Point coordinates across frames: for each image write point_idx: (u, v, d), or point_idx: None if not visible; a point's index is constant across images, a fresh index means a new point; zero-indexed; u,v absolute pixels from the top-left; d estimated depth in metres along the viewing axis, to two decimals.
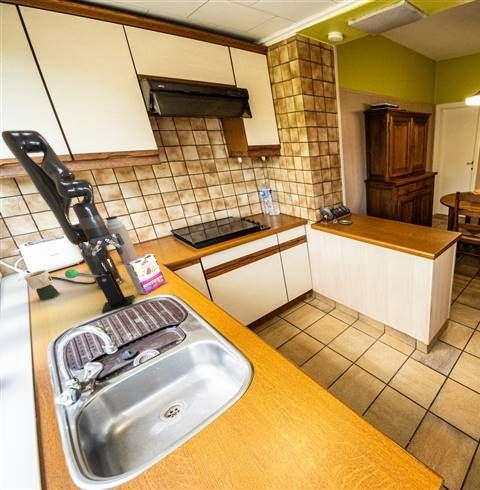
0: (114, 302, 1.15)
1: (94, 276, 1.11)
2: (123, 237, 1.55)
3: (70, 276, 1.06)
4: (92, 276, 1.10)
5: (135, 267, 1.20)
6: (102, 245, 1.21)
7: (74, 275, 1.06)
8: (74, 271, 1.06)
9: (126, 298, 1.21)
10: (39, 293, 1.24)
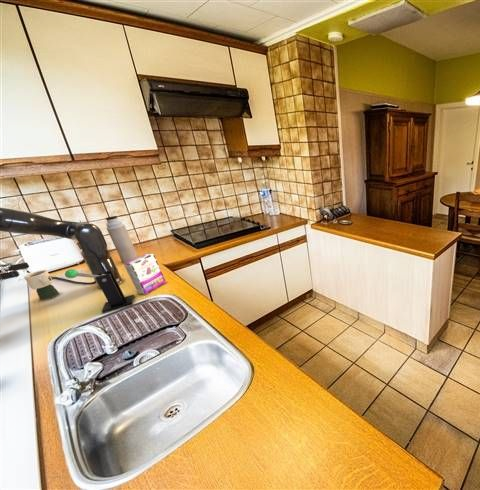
0: (114, 302, 1.15)
1: (94, 276, 1.11)
2: (123, 237, 1.55)
3: (70, 276, 1.06)
4: (92, 276, 1.10)
5: (135, 267, 1.20)
6: None
7: (74, 275, 1.06)
8: (74, 271, 1.06)
9: (126, 298, 1.21)
10: (39, 293, 1.24)
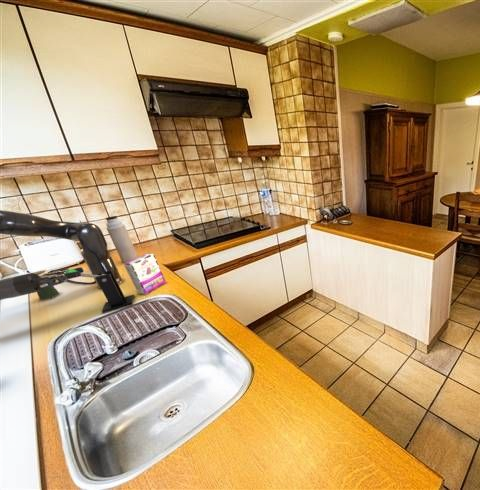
0: (114, 302, 1.15)
1: (94, 276, 1.11)
2: (123, 237, 1.55)
3: None
4: (92, 276, 1.10)
5: (135, 267, 1.20)
6: None
7: None
8: (74, 271, 1.06)
9: (126, 298, 1.21)
10: (39, 293, 1.24)
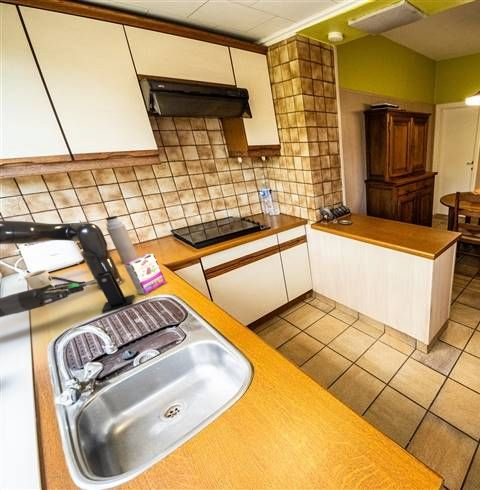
0: (114, 302, 1.15)
1: (95, 280, 1.11)
2: (123, 237, 1.55)
3: None
4: (93, 281, 1.11)
5: (135, 267, 1.20)
6: None
7: None
8: (74, 284, 1.08)
9: (126, 298, 1.21)
10: None
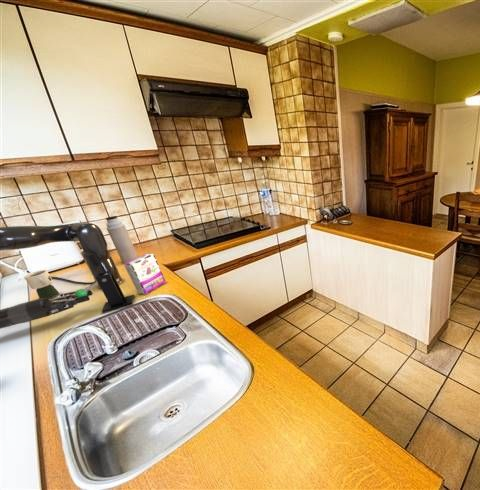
0: (114, 302, 1.15)
1: (97, 282, 1.12)
2: (123, 237, 1.55)
3: (81, 295, 1.09)
4: (95, 284, 1.11)
5: (135, 267, 1.20)
6: None
7: (82, 293, 1.09)
8: (79, 290, 1.09)
9: (126, 298, 1.21)
10: (39, 293, 1.24)
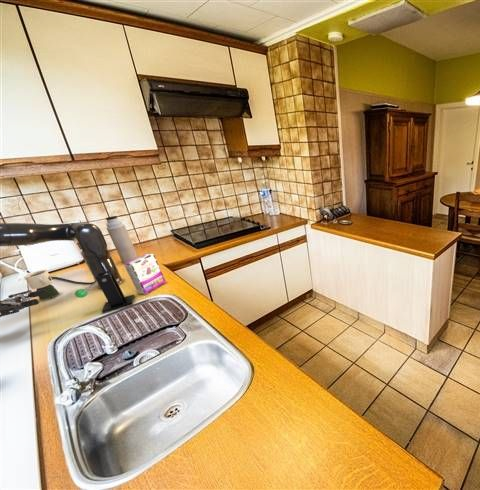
0: (114, 302, 1.15)
1: (97, 282, 1.12)
2: (123, 237, 1.55)
3: (81, 295, 1.09)
4: (95, 284, 1.11)
5: (135, 267, 1.20)
6: None
7: (82, 293, 1.09)
8: (79, 290, 1.09)
9: (126, 298, 1.21)
10: None
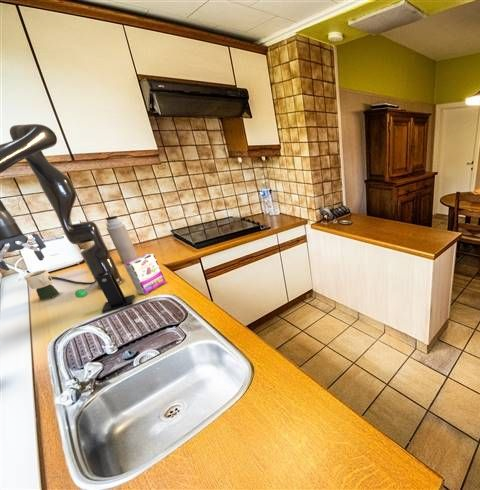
0: (114, 302, 1.15)
1: (97, 282, 1.12)
2: (123, 237, 1.55)
3: (81, 295, 1.09)
4: (95, 284, 1.11)
5: (135, 267, 1.20)
6: (13, 249, 0.96)
7: (82, 293, 1.09)
8: (79, 290, 1.09)
9: (126, 298, 1.21)
10: (39, 293, 1.24)
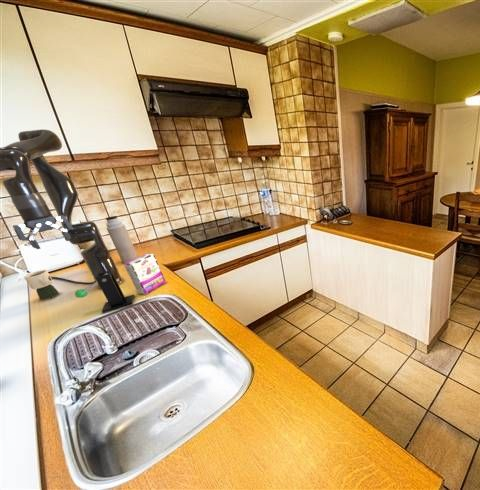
0: (114, 302, 1.15)
1: (97, 282, 1.12)
2: (123, 237, 1.55)
3: (81, 295, 1.09)
4: (95, 284, 1.11)
5: (135, 267, 1.20)
6: (43, 229, 1.04)
7: (82, 293, 1.09)
8: (79, 290, 1.09)
9: (126, 298, 1.21)
10: (39, 293, 1.24)
